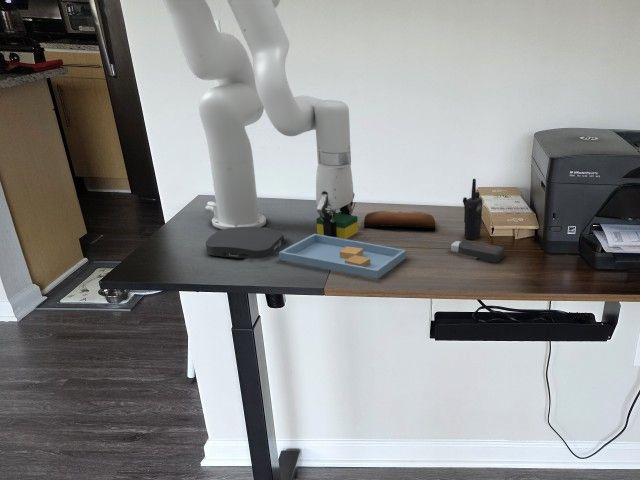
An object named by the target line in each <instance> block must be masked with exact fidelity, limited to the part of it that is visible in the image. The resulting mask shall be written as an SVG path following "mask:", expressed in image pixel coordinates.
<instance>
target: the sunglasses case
mask: <svg viewBox="0 0 640 480" xmlns="http://www.w3.org/2000/svg"><path fill="white" fill-rule="evenodd" d="M363 221H364V222H363V228H364V229H366V228H377V227H378V228H381V227H399V228H405V227H406V228H407V227H409V228H427V229H428V228H430V229H433V230H434V231H435V230H436V220H435V217H434V216H433V215H432V214H429V213H427V212H424V211H423V212H422V211H404V212H403V211H390V210H377V211H376V210H375V211H372V212H368V213H367V214H366V215H365V216H364V220H363Z"/></svg>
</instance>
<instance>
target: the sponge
mask: <svg viewBox="0 0 640 480" xmlns="http://www.w3.org/2000/svg"><path fill="white" fill-rule="evenodd" d="M327 213H329V215H331V211H327ZM315 220H316V232H317V233H316V234H319V235H324V231H323V221H322V220H321V217H320V216H318V217H316V219H315ZM334 222H336V232H337V237H336V238H341V239H347V240H348V239H349V238H350V237H352V236H353V235H355V234H357V233H359V225H358V223H359V219H358V216H357V215H353V214H351V215H347V214H341V213H338V212H336V213H335V219H334Z"/></svg>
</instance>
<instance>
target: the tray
mask: <svg viewBox="0 0 640 480" xmlns="http://www.w3.org/2000/svg"><path fill="white" fill-rule="evenodd" d="M346 246H349V247H356V248H363V255H362V256H361V257H366V258H370V261H371V265H369V266H367V267H362V266H357V265H351V264H346V263H345V260H346V258H340V254H339V252H340V251H341V250H342V249H344V248H345V247H346ZM278 255H279V261H282V262H287V263H292V264H297V265H303V266H308V267H314V268H318V269H324V270H328V271H334V272H338V273H339V272H340V273H345V274H350V275H355V276H361V277H366V278H371V279H375V280H378V279H379V278H382V277H383V276H384V275H385V274H386V273H388V272H389V271H391V270H392V269H394V268H395V267H396V266H397V265H399V264H400V263H401V262H403V261H404V260H405V259H407V249H402V248H396V247H391V246H386V245H380V244H374V243H369V242H363V241H357V240H352V239H348V238H347V239H341V238H336V237H330V236H325V235H319V234H317V233H313V234H311V235H309V236H306V237H305V238H303V239H302V240H299V241H298V242H296V243H294V244H292V245H290V246H287V247H286V248H284V249H283V250H282V249H281V250H280V251H279V252H278Z"/></svg>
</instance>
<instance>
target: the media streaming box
mask: <svg viewBox="0 0 640 480" xmlns="http://www.w3.org/2000/svg"><path fill="white" fill-rule="evenodd" d="M284 244H285V234H284V233H283V232H281V231H279V230H277V229H274V228H268V227H263V226H262V227H234V228H227V229H219V230H217V231H215V232H214V233H213V234H211V235H210V236H209V237H208V238H207V239H206V240H205V248H206V253H207V254H208V255H211V256H215V257H225V258H233V259H264V258H268V257H271V256H272V255H273V254H275V253H276V252H277V251H278V250H279V249H280V248H282V246H283V245H284Z"/></svg>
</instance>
